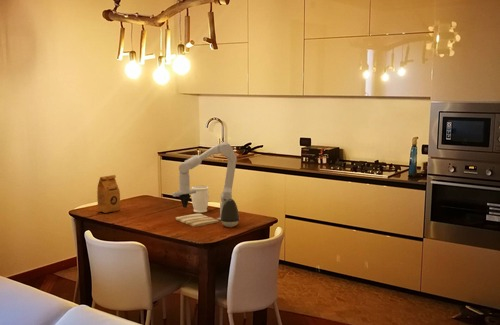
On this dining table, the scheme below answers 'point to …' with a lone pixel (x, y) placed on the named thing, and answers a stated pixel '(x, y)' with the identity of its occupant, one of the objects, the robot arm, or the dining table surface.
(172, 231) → the dining table surface
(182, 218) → the cream folded cloth
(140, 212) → the dining table surface
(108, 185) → the coffee package
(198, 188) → the jar
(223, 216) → the smart speaker
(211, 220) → the folded beige cloth
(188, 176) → the robot arm
